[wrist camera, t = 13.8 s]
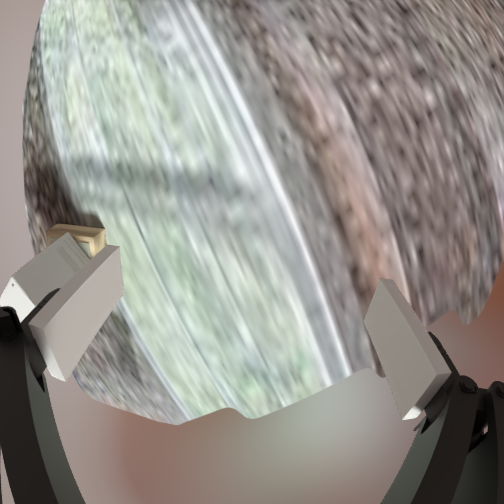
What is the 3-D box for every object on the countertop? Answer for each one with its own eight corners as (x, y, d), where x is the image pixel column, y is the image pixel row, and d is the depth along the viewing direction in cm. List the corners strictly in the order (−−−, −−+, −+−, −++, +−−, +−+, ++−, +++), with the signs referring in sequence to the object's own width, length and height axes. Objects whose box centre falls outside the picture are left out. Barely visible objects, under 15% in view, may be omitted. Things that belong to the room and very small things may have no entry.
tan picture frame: (58, 223, 43) (44, 231, 40) (105, 228, 44) (92, 238, 40) (66, 275, 48) (55, 285, 44) (111, 284, 48) (101, 296, 44)
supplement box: (46, 257, 42) (-5, 301, 28) (68, 230, 39) (10, 274, 26) (76, 294, 45) (33, 346, 31) (101, 272, 42) (53, 328, 29)
